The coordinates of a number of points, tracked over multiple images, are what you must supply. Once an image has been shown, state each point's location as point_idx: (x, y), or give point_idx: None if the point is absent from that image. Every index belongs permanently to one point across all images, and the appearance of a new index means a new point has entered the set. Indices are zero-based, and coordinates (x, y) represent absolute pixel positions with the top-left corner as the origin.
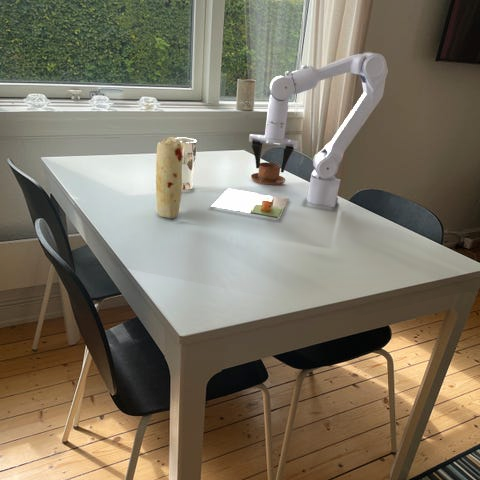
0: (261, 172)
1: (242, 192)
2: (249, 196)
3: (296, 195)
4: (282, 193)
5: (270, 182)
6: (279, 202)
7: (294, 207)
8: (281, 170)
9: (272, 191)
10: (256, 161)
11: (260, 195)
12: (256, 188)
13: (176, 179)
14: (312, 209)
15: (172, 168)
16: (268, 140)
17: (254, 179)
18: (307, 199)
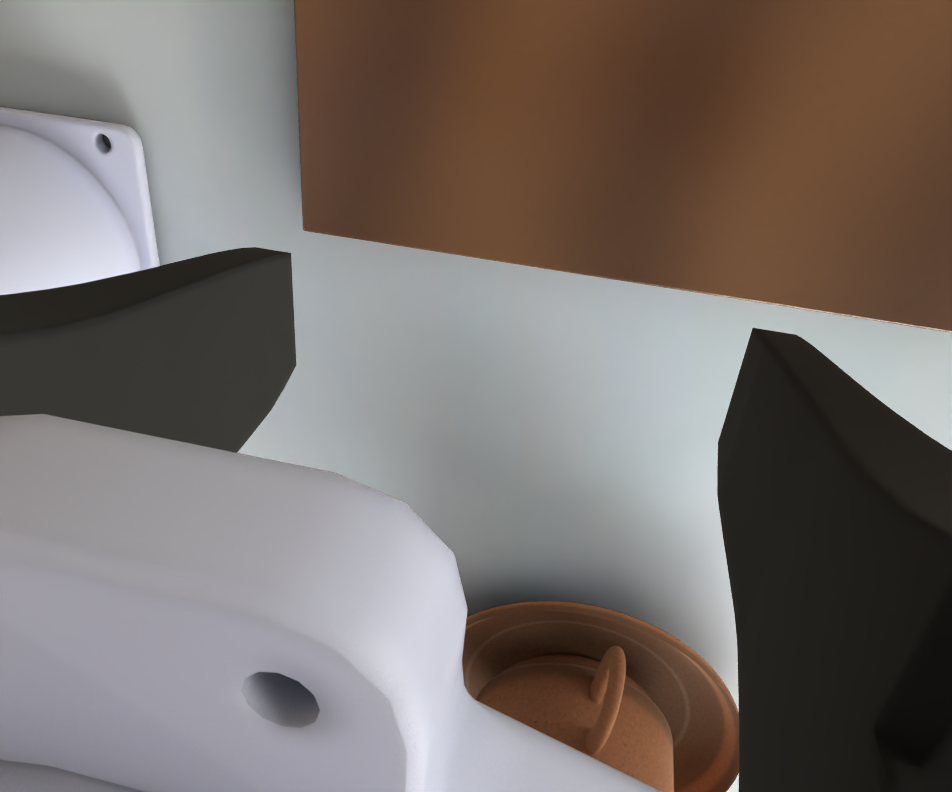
0: (643, 748)
1: (893, 250)
2: (803, 104)
3: (285, 446)
4: (416, 463)
5: (545, 655)
6: (384, 13)
7: (221, 29)
8: (263, 251)
9: (516, 492)
10: (841, 383)
11: (644, 212)
12: (684, 534)
13: None
14: (39, 49)
15: None
16: (441, 692)
17: (711, 671)
18: (109, 233)
